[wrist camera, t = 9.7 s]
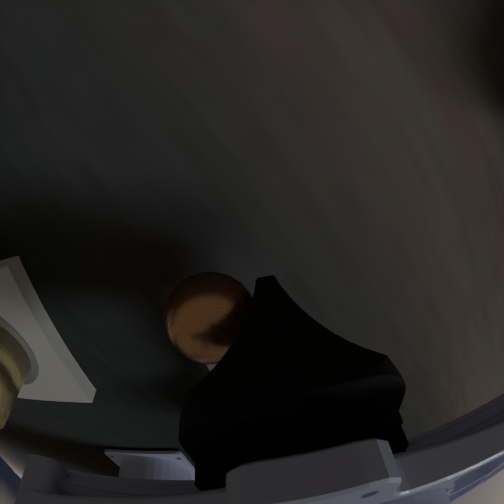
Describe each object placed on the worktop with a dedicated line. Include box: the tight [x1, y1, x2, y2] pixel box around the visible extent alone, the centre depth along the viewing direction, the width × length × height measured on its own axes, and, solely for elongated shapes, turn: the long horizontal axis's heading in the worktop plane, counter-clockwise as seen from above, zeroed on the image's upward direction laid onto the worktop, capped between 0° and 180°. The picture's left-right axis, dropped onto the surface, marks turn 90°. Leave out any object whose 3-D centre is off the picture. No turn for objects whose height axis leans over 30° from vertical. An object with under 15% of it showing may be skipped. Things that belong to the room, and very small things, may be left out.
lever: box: [164, 272, 253, 371], centre depth 13 cm, size 10×4×4 cm, turn 14°
